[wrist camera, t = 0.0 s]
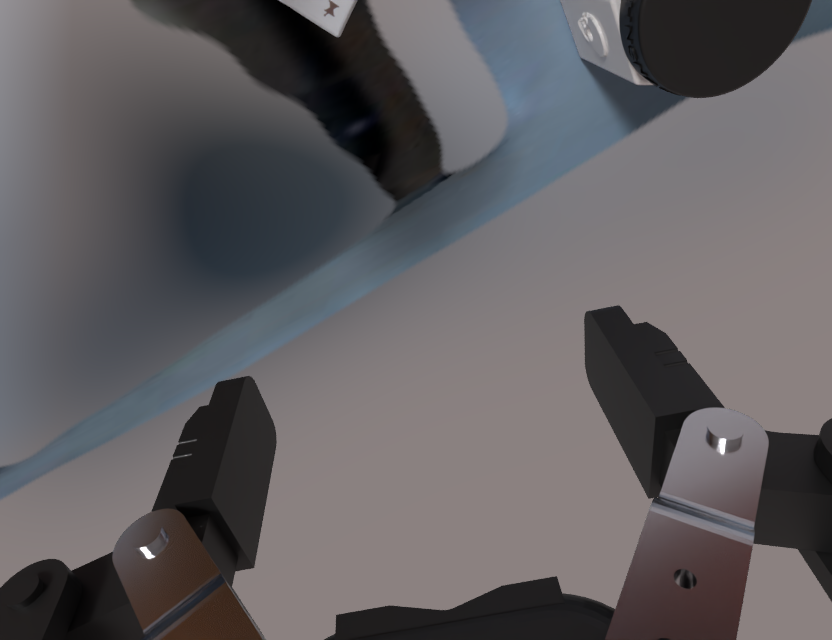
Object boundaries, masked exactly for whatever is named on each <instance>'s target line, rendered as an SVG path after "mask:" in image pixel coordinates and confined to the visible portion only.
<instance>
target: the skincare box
mask: <svg viewBox="0 0 832 640" xmlns="http://www.w3.org/2000/svg"><path fill="white" fill-rule="evenodd" d="M279 1H280V2H282V3H284V4H286V5H287V6H289V7H290V8H292V9H293V10H295V11H296V12H298V13H299V14H301V15H302V16H304V17H306V18H307V19H309V20H310V21H312V22H313V23H315V24H316V25H318V26H319V27H321V28H322V29H324V30H326V31H327V32H329V33H330V34H332V35H334V36H335V37H340V36H341V34H342V32H343V30H344V27H345V25H346V23H347V21H348V19H349V17H350V15H351V13H352V11H353V9H354V6H355V4H356V2H357V0H279Z"/></svg>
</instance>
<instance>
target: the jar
mask: <svg viewBox="0 0 832 640" xmlns="http://www.w3.org/2000/svg"><path fill="white" fill-rule="evenodd" d="M560 1H561V4H562V7H563V10H564V13H565V15H566V18H567V21H568V24H569V27H570V30H571V33H572V35H573V38H574V41H575V44H576V47H577V50H578V53H579V55H580V57H581V58H582V59H584V60H586V61H588V62H590V63H592V64H595V65H597V66H599V67H601V68H603V69H605V70H607V71H609V72H611V73H613V74H615V75H617V76H619V77H621V78H623V79H626V80H628V81H630V82H632V83H634V84H636V85H654V86H656V87H657V86H660V87H659V88H660V89H663V90H665V91H667V92H670V93H673V94H676V95H682V96H686V97H693V98H706V97H713V96H719V95H722V94H725V93H728V92H731V91H734V90H736V89H738V88H740V87H742V86H744V85H746V84H747V83H749V82H751V81H752V80H754V79H755V78H756V77H758V76H759V75H760V74H762V73H763V72H764V71H765V70H767V69H768V68H769V67H770V66H771V65H772V64H773V63H774V62H775V61H776V60H777V59H778V58H779V57H780V56H781V55H782V53H783V52H784V51H785V50H786V48H787V47H788V46H789V44H790V43H791V42H792V40H793V39H794V37H795V36H796V34H797V32H798V31H799V29H800V27H801V25H802V23H803V21H804V19H805V17H806V15H807V13H808V10H809V7H810V4H811V2H812V0H560Z"/></svg>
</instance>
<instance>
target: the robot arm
mask: <svg viewBox="0 0 832 640" xmlns="http://www.w3.org/2000/svg"><path fill="white" fill-rule="evenodd" d="M584 324H585V367H586V373H587V377H588V381H589V384H590V386H591V388H592V390H593V392H594V394H595V396H596V398H597V400H598V402H599V404H600V406H601V408H602V410H603V412H604V413H605V415H606V417H607V419H608V421H609V423H610V425H611V427H612V429H613V431H614V433H615V435H616V437H617V439H618V441H619V443H620V444H621V446H622V448H623V450H624V452H625V454H626V456H627V458H628V460H629V462H630V464H631V466H632V467H633V470H634V471H635V473H636V475H637V477H638V479H639V481H640V483H641V485H642V487H643V488H644V491H645V493H646V495H647V497H648V498H654V499H653V501H652V504H651V506H650V509H649V512H648V515H647V518H646V520H645V524H644V527H643V529H642V532H641V535H640V538H639V541H638V544H637V547H636V550H635V553H634V556H633V559H632V562H631V565H630V567H629V571H628V573H627V576H626V579H625V582H624V585H623V588H622V591H621V594H620V597H619V600H618V603H617V606H616V609H614V608H611V607H609V606H607V605H605V604H603V603H601V602H598V601H595V600H592V599H589V598H586V597H581V596H576V595H571V594H562V592H561V589H560V585H559V582H558V579H557V577H550V578H545V579H538V580H533V581H527V582H521V583H516V584H510V585H505V586H501V587H499V588H496V589H494V590H492V591H490V592H488V593H485V594H484V595H481V596H479V597H477V598H475V599H473V600H470V601H468V602H466V603H464V604H462V605H459V606H457V607H455V608H453V609H450V610H432V609H421V608H411V607H400V606H399V607H398V606H385V607H379V608H373V609H367V610H363V611H356V612H350V613H345V614H339V615H336V633H335V634H334V635H332V636H330V637H328V638H326V639H325V640H736V638H737V632H738V627H739V621H740V615H741V610H742V604H743V598H744V592H745V587H746V581H747V576H748V570H749V564H750V559H751V553H752V547H753V543H754V544H762V545H770V546H778V547H787V548H796V549H798V550H799V552H800V553H801V555H802V556H803V558H804V560H805V561H806V563H807V564H808V566H809V567H810V569H811V570H812V572H813V573H814V575H815V576H816V578H817V580H818V581H819V583H820V584H821V586H822V587H823V589H824V590H825V592H826V593H827V595H828V596H829V598H830V599H831V601H832V419H830V420H828V421H827V422H826V423H825V424H824V425H823V426H822V428H821V431H820V434H819V435H805V434H791V433H778V432H770V431H765V430H764V429H763V428H762V426H760V424H759V423H757V422H756V421H755V420H753V419H752V418H750V417H749V416H747V415H745V414H743V413H740V412H738V411H735V410H731V409H726V408H724V406H723V405H722V404H721V403H720V401H719V400H718V399H717V398H716V396H715V395H714V394H713V392H712V391H711V390H710V389H709V387H708V386H707V385H706V384H705V382H704V381H703V380H702V378H701V377H700V376H699V375H698V373H697V372H696V371H695V370H694V368H693V367H692V366H691V365H690V364H688V363H687V360H686V358H685V357H684V356H683V354H682V353H681V352H680V351H678V348H677V347H676V346H675V344H674V343H673V342H672V340H671V339H670V338H669V337H668V335H667V334H666V333H664V332H663V331H661V330H659V329H658V328H656V327H654V326H652V325H651V324H649V323H647V322H644V323H639V324H633V323H632V321H631V320H630V318H629V317H628V316H627V314H626V313H625V312H624V310H623V309H622V308H621V307H620V306H613V307H607V308H603V309H598V310H593V311H587V312H586V313H585V319H584ZM275 450H276V431H275V426H274V423H273V420H272V418H271V416H270V414H269V411H268V409H267V407H266V405H265V403H264V400H263V398H262V396H261V394H260V392H259V390H258V387H257V385H256V383H255V381H254V380H253V378H252V377H250V376H246V377H241V378H236V379H231V380H226V381H220V382H218V383H217V384H216V386H215V389H214V392H213V395H212V397H211V400H210V403H209V405H207V406H201V407H199V408H198V410H197V411H196V412H195V413H194V414H193V415H192V417H191V418H190V419H189V420H188V421H187V423H186V424H185V426H184V429H183V431H182V434H181V436H180V439H179V445H177V447H176V450H175V452H174V454H173V460H171V462H170V465H169V468H168V470H167V473H166V475H165V478H164V480H163V483H162V486H161V488H160V491H159V493H158V496H157V499H156V501H155V504H154V506H153V509H152V512H150V513H148V514H146V515H144V516H142V517H141V518H139V519H138V520H136V521H135V522H134V523H132V524H131V525H130V526H129V527H128V528H127V529H126V530H125V531H124V532H123V534H122V535H121V536H120V538H119V540H118V541H117V543H116V545H115V547H114V550H113V552H111V553H109V554H107V555H105V556H103V557H101V558H98V559H96V560H94V561H92V562H90V563H88V564H85V565H83V566H81V567H79V568H77V569H74V570H72V571H71V570H70V569H69V568H68V567H67V566H66V565H65V564H64V563H63V562H62V561H60V560H56V559H47V560H42V561H39V562H36V563H33V564H31V565H29V566H27V567H26V568H24V569H22V570H21V571H19V572H18V573H16V574H15V575H14V576H13V577H11V578H10V579H9V580H8V581H7V582H6V583H5V584H4V585H3V586H2V587H1V588H0V640H266V639H265V637H264V636H263V634H262V633H261V631H260V629H259V628H258V626H257V625H256V623H255V622H254V620H253V619H252V617H251V616H250V614H249V613H248V611H247V610H246V608H245V606H244V605H243V603H242V602H241V600H240V599H239V597H238V596H237V594H236V592H235V591H234V589H233V588H232V584H233V579H234V574H235V571H240V570H245V569H251V568H254V565H255V559H256V553H257V548H258V543H259V537H260V532H261V527H262V521H263V516H264V510H265V505H266V499H267V494H268V488H269V483H270V477H271V472H272V466H273V461H274V455H275ZM657 497H658V498H657Z"/></svg>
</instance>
